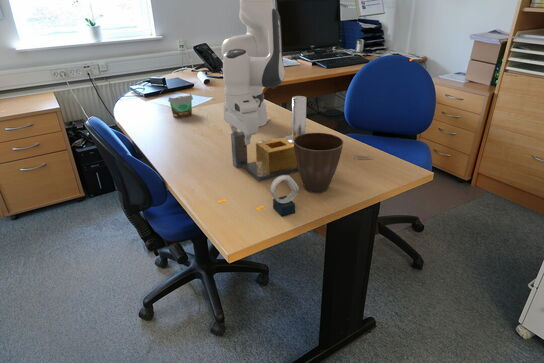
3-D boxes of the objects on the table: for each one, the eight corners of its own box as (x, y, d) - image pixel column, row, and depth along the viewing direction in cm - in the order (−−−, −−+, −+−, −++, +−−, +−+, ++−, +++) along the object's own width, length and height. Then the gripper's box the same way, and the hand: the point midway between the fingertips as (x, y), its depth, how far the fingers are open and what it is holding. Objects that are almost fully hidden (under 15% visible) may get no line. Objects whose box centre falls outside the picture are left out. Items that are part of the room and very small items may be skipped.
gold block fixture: (238, 163, 143) (234, 98, 132) (295, 150, 153) (296, 89, 142) (259, 181, 130) (256, 111, 119) (320, 165, 140) (323, 99, 129)
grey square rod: (232, 164, 142) (230, 133, 136) (244, 162, 144) (242, 131, 138) (236, 168, 139) (234, 136, 134) (247, 165, 141) (246, 133, 136)
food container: (175, 120, 188) (172, 100, 183) (170, 117, 192) (167, 97, 188) (198, 115, 194) (196, 95, 190) (193, 112, 199) (191, 93, 194)
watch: (301, 211, 113) (301, 177, 108) (276, 218, 109) (275, 183, 104) (291, 202, 117) (292, 169, 112) (267, 209, 114) (266, 175, 109)
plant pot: (317, 173, 135) (319, 129, 127) (349, 189, 124) (353, 142, 117) (283, 185, 127) (283, 139, 120) (314, 204, 116) (316, 154, 109)
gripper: (217, 96, 137) (221, 133, 143) (243, 109, 121) (245, 150, 127) (234, 93, 140) (236, 130, 146) (261, 106, 124) (262, 147, 130)
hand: (241, 140), depth 137 cm, fingers open, 8 cm apart
